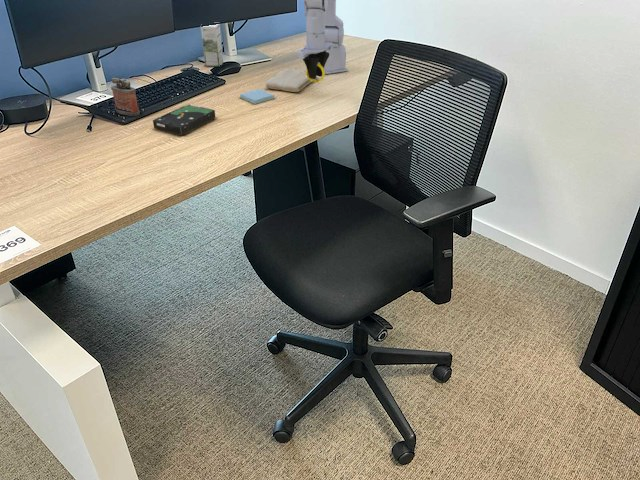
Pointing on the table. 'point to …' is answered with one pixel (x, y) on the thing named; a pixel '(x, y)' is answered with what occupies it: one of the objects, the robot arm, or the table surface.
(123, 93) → the lighter
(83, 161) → the table surface
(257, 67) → the table surface
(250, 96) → the sticky note pad
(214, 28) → the syrup box
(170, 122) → the disk drive
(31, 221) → the table surface
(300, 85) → the washcloth
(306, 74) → the yellow ring
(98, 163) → the table surface
